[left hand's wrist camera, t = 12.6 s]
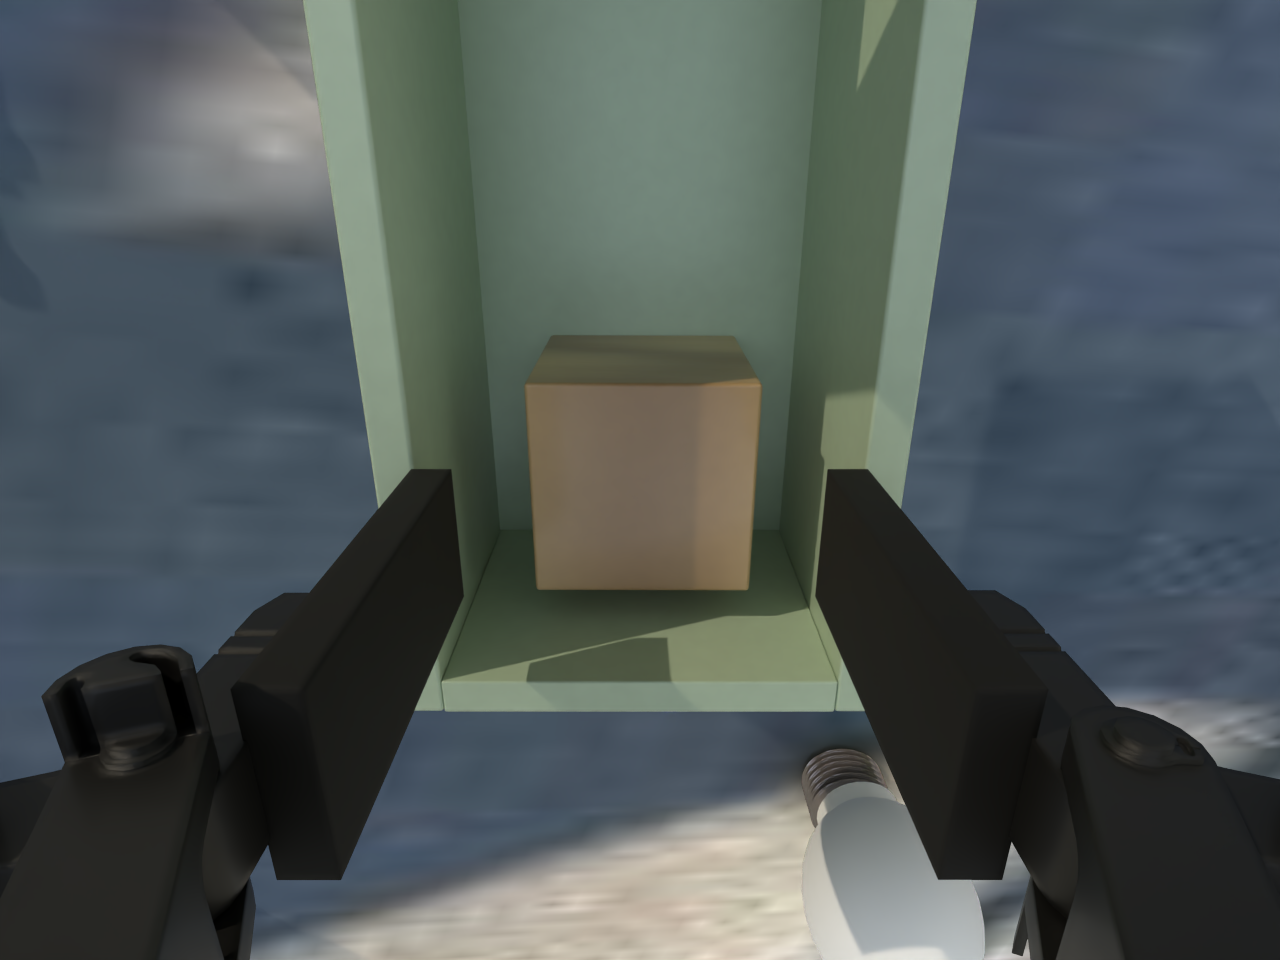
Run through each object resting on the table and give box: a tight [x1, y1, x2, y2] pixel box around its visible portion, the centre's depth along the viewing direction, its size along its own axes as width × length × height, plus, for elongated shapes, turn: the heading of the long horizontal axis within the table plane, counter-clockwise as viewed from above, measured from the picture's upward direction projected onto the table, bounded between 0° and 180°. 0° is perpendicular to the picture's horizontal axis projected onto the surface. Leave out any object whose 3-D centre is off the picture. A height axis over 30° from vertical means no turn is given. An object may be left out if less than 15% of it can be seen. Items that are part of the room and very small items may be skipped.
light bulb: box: [802, 749, 985, 960], centre depth 31 cm, size 7×7×11 cm
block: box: [524, 335, 763, 590], centre depth 19 cm, size 5×5×5 cm
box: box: [303, 0, 977, 712], centre depth 15 cm, size 10×26×8 cm, turn 0°
